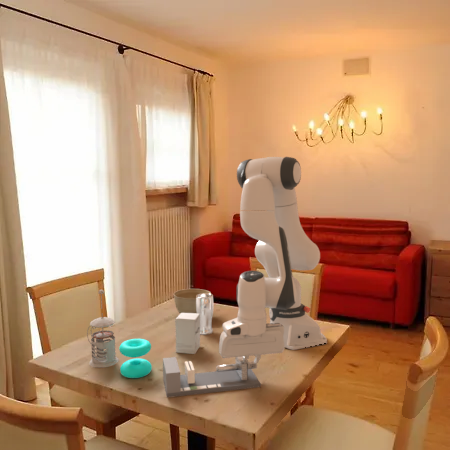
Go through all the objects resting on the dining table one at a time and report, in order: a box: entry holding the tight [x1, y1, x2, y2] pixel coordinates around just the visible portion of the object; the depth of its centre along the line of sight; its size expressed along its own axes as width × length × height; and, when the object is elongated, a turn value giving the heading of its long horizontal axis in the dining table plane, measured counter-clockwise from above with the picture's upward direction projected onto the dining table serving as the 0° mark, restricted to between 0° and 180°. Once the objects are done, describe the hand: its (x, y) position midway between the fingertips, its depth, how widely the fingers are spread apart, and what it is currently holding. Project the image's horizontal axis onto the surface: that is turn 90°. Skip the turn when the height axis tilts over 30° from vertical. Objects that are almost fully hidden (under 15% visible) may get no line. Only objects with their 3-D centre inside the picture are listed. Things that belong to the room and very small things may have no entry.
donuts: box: [118, 338, 153, 379], centre depth 151 cm, size 10×10×10 cm
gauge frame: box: [162, 356, 261, 398], centre depth 143 cm, size 28×11×7 cm, turn 103°
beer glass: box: [196, 293, 214, 336], centre depth 187 cm, size 7×7×15 cm
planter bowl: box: [173, 288, 212, 314], centre depth 205 cm, size 16×16×11 cm
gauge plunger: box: [215, 356, 248, 380], centre depth 144 cm, size 9×8×5 cm
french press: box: [86, 289, 119, 368], centre depth 159 cm, size 10×12×25 cm
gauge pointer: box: [184, 360, 196, 384], centre depth 141 cm, size 2×6×4 cm, turn 13°
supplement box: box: [175, 313, 201, 355], centre depth 169 cm, size 7×7×13 cm
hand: (251, 368), depth 146 cm, fingers closed
